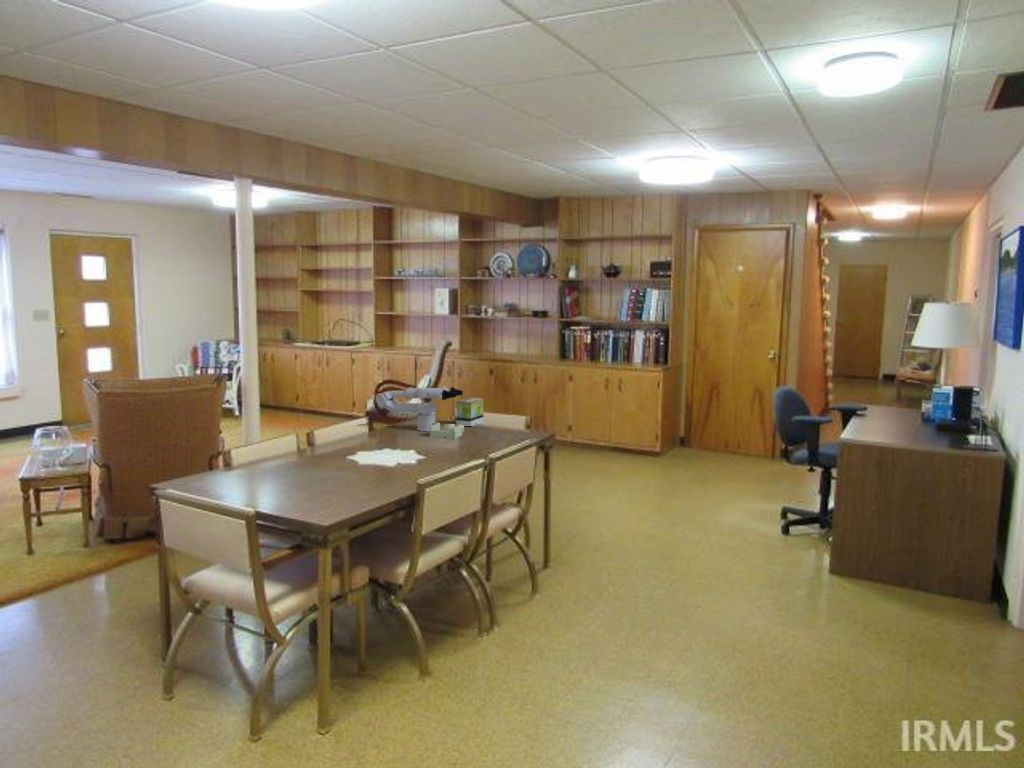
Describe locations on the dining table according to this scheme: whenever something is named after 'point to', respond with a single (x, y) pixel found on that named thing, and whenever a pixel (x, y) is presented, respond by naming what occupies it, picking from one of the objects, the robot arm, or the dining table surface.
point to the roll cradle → (448, 434)
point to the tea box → (470, 411)
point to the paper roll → (449, 427)
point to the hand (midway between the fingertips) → (459, 394)
